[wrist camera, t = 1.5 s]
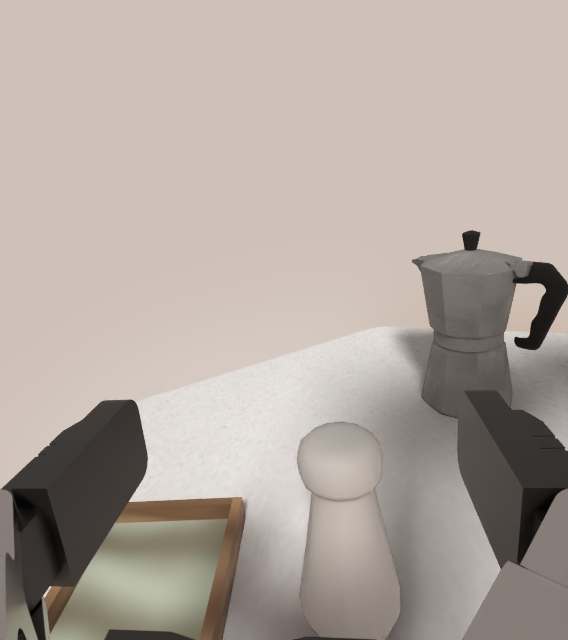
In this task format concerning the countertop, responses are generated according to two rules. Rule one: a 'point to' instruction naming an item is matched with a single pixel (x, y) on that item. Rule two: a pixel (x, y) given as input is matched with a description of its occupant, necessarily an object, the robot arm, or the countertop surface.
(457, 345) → the coffeepot
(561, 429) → the countertop surface
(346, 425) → the salt shaker
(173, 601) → the tray
